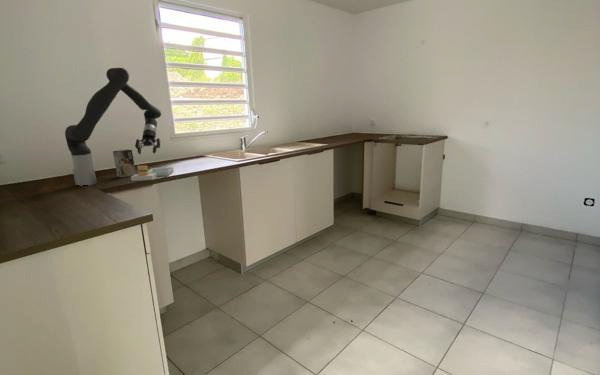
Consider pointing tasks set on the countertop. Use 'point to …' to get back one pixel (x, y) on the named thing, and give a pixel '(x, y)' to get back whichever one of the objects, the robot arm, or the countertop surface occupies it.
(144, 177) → the fuse holder
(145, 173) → the fuse
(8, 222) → the countertop surface
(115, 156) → the coffee box
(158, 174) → the tray
